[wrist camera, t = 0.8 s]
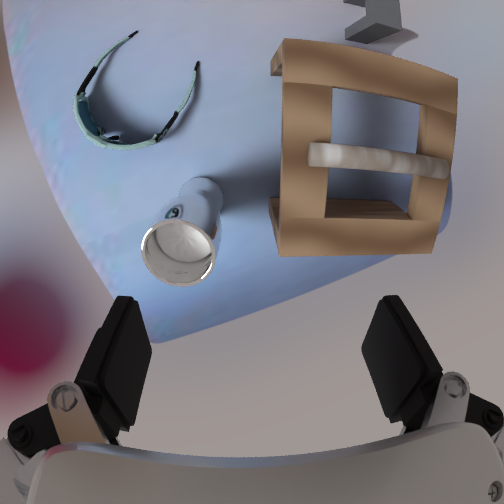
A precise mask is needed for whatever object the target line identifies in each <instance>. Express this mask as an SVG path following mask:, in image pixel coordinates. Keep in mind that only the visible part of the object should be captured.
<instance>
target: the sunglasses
mask: <svg viewBox="0 0 504 504" xmlns="http://www.w3.org/2000/svg"><path fill="white" fill-rule="evenodd" d="M136 33H138V31H135V32H134V33H132V34H131V35H129V36H128V37H126V38H124V39H122V40H120V41H119V42H117V43H116V44H115V45H113V46H112V47H111V48H110V49H108V50H107V51H106V52H105V53H104V54H103V55H102V56H101V57H100V58H99V59H98V60H97V61H96V63H95V65H94V67H93V68H92V69H91V71H90V72H89V74H88V75H87V77H86V78H85V80H84V81H83V83H82V85H81V86H80V88H79V90H78V92H77V95H74V100H73V108H74V114H75V118H76V120H77V122H78V125H79V127H80V129H81V130H82V131H83V132H84V134H85V137H87V138H88V139H89V140H91V141H92V142H93V143H95V144H96V145H98V146H100V147H103V148H106V147H107V148H111V149H119V150H131V149H138V148H143V147H146V146H149V145H152V144H156V143H158V142H159V141H160V140H161V139H162V138H163V136H164V135H165V134H166V132H167V131H168V130H169V128H170V127H171V126H172V124H173V123H174V121H175V120H176V118H177V116H178V114H179V112H180V111H181V110H182V109H183V107H184V106H185V105H186V103H187V101H188V99H189V97H190V95H191V92H192V89H193V86H194V83H195V77H196V71H197V67H198V64H199V61H197V63H196V66H195V69H194V74H193V80H192V83H191V86H190V89H189V91H188V93H187V95H186V97H185V99H184V101H183V103H182V105H181V106H180V107H179V108H178V109H177V110H175V112H174V115H173V117H172V118H171V119H170V121H169V122H168V123H167V125H166V126H165V128H164V129H163V130H162V132H161V133H159V134H155V135H154V136H153V137H152V139H150V140H147V141H144V142H140V143H136V144H133V145H130V144H125V142H120V141H110V140H118V139H119V135H118V136H112V137H109V138H107V137H105V136H103V134H104V133H105V129H106V128H103V130H101V129H100V128H98V127H97V126H96V124H95V123H94V121H93V119H92V117H91V114H90V111H89V110H90V107H89V100H88V98H87V97H85V94H86V93H85V89H86V87H87V85H88V84H89V82H90V81H91V79H92V77H93V76H94V74H95V73H96V71H97V69H98V67H99V66H100V64H101V62H102V61H103V59H104V58H105V57H106V56H107V55H108V54H109V53H110V52H112V51H113V50H114V49H115V48H116V47H118V46H119V45H121V44H122V43H124V42H126V41H127V40H129V39H130V38H132V37H133V35H134V34H136ZM79 100H81V101H79ZM88 107H89V108H88Z"/></svg>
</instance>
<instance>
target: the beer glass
mask: <svg viewBox="0 0 504 504" xmlns="http://www.w3.org/2000/svg"><path fill="white" fill-rule="evenodd" d="M223 201H224V198H223V193H222V191H221V189H220V187H219V186H218V185H217V184H216V183H215V182H214V181H212V180H211V179H208V178H205V177H196V178H192V179H190V180H188V181H187V182H185V183H184V184H183V185H182V187H181V188H180V190H179V193H178V196H176V197H174V198H173V199H171V200H170V201H169V202H167V203H166V204H165V205H164V206H163V207H162V208H161V209H160V210H159V212H158V213H157V214H156V216H155V218H154V219H153V221H152V223H151V225H150V227H149V229H148V231H147V233H146V234H145V236H144V238H143V241H142V247H141V252H142V257H143V260H144V263H145V265H146V267H147V268H148V270H149V271H150V272H151V273H152V274H153V275H154V276H155V277H156V278H158V279H159V280H161V281H163V282H165V283H167V284H170V285H174V286H191V285H195V284H197V283H199V282H201V281H203V280H204V279H205V278H207V277H208V276H209V274H210V273H211V271H212V270H213V268H214V265H215V260H216V257H217V254H218V251H219V247H220V242H221V235H222V225H221V218H220V214H219V212H220V211H221V209H222V206H223Z"/></svg>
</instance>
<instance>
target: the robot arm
mask: <svg viewBox="0 0 504 504" xmlns="http://www.w3.org/2000/svg"><path fill="white" fill-rule="evenodd" d="M151 354H152V348H151V345H150V342H149V339H148V335H147V332H146V329H145V325H144V322H143V318H142V315H141V311H140V308H139V304H138V302H137V301H136V300H134V299H133V297H131V296H117V298H116V299H115V301H114V303H113V305H112V307H111V309H110V311H109V313H108V315H107V317H106V319H105V321H104V323H103V325H102V327H101V328H99V329H98V330H97V332H96V334H95V336H94V338H93V340H92V342H91V344H90V347H89V349H88V351H87V353H86V356H85V358H84V360H83V363H82V364H81V367H80V369H79V372H78V374H77V376H76V379H75V381H74V383H73V382H70V381H64V382H61V383H58V384H56V385H55V386H54V387H53V388H52V389H51V390H50V392H49V394H48V398H47V402H48V403H47V404H45V405H43V406H41V407H39V408H38V409H35V410H33V411H31V412H30V413H27V414H25V415H23V416H22V417H19V418H17V419H16V420H14V421H13V422H12V423H11V424H10V426H9V429H8V438H7V439H5V438H3V439H1V441H0V504H504V417H503V413H502V411H501V409H500V408H499V407H498V406H496V405H495V404H493V403H491V402H488V401H486V400H484V399H482V398H480V397H478V396H476V395H474V394H471V393H470V387H469V383H468V381H467V380H466V378H464V377H463V376H462V375H461V374H459V373H457V372H447V373H445V374H444V375H443V373H442V370H443V369H442V367H441V365H440V364H439V362H438V360H437V358H436V356H435V355H434V353H433V351H432V349H431V348H430V346H429V344H428V343H427V341H426V339H425V337H424V336H423V334H422V332H421V331H420V329H419V327H418V326H417V324H416V323H415V321H414V319H413V317H412V316H411V314H410V313H409V311H408V309H407V308H406V306H405V305H404V303H403V302H402V300H401V299H400V297H399V296H398V295H388V296H384V297H383V298H382V300H380V301H379V302H378V305H377V308H376V311H375V313H374V316H373V319H372V321H371V324H370V326H369V329H368V331H367V334H366V336H365V339H364V341H363V344H362V354H363V357H364V359H365V362H366V364H367V367H368V370H369V372H370V375H371V378H372V380H373V383H374V386H375V388H376V392H377V394H378V397H379V400H380V403H381V405H382V409H383V411H384V414H385V416H386V417H387V418H389V420H390V423H394V422H398V421H402V422H403V425H404V426H403V428H402V430H401V433H400V435H399V436H396V437H392V438H388V439H384V440H380V441H376V442H372V443H367V444H363V445H358V446H353V447H348V448H342V449H336V450H331V451H323V452H316V453H308V454H299V455H288V456H275V457H246V458H245V457H242V458H241V457H240V458H233V457H205V456H190V455H180V454H171V453H161V452H153V451H147V450H141V449H135V448H129V447H123V446H122V445H121V443H120V441H119V440H118V438H117V436H118V434H119V430H122V431H127V432H129V429H130V426H133V425H134V423H135V420H136V415H137V411H138V407H139V402H140V398H141V394H142V390H143V386H144V382H145V378H146V374H147V370H148V366H149V363H150V359H151Z"/></svg>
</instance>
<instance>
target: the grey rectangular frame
mask: <svg viewBox="0 0 504 504" xmlns="http://www.w3.org/2000/svg"><path fill="white" fill-rule="evenodd" d="M343 2H344V3H349V4H353V5H358V6H362V7H366V16H365V17H363V18H362V19H360V20H358V21H357V22H355V23H354V24H352V25H351V26H349V27H348V28H346V29H345V40H350V41H355V42H360V43H365V44H368V43H370V42H372V41H375V40H377V39H380V38H382V37H385V36H388V35H390V34H393V33H396V32H399V31H401V30H402V25H401V15H400V14H401V13H400V4H399V0H343Z"/></svg>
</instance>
